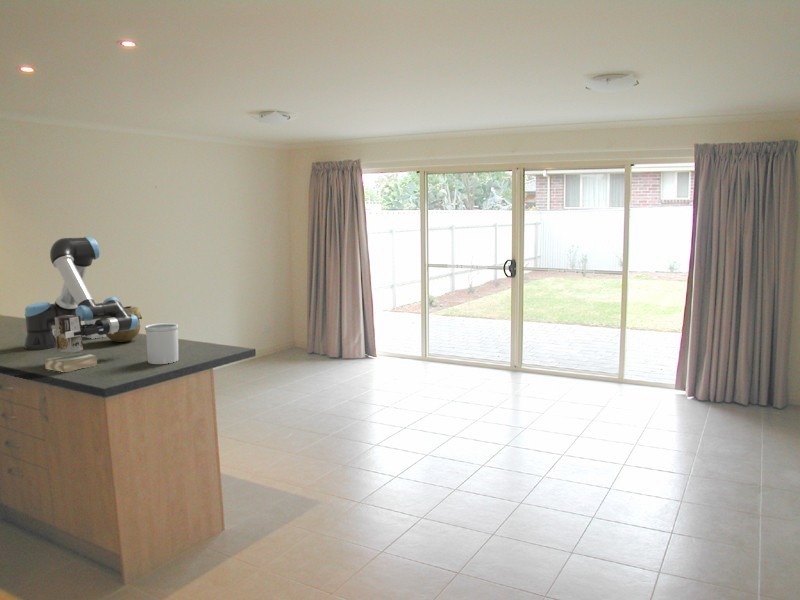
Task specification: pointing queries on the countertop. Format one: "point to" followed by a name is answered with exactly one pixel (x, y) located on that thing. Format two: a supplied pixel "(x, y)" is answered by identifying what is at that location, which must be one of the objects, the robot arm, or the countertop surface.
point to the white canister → (96, 333)
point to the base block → (71, 362)
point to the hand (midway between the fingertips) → (59, 333)
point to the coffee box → (66, 325)
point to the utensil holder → (162, 343)
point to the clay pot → (130, 334)
